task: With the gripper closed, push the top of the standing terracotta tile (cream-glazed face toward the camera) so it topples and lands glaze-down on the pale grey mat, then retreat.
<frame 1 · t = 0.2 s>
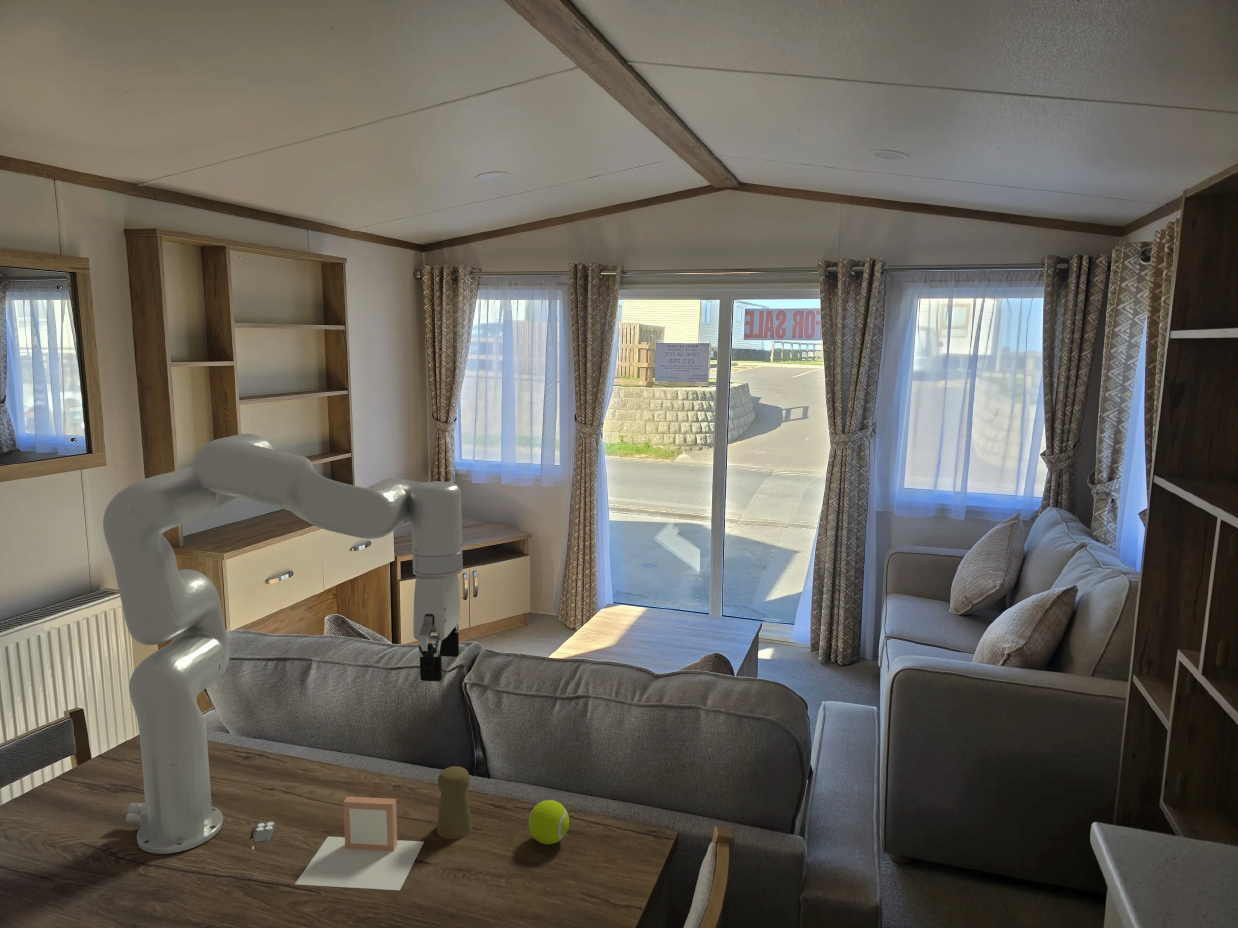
hand: (440, 667, 131), 30 cm above the table, fingers open, 9 cm apart
mat: (362, 865, 130), on the table
key chain: (259, 851, 134), on the table
tile: (371, 846, 133), point 1 cm above the table, touching mat
cork: (454, 832, 139), on the table
tennis ball: (548, 841, 137), on the table
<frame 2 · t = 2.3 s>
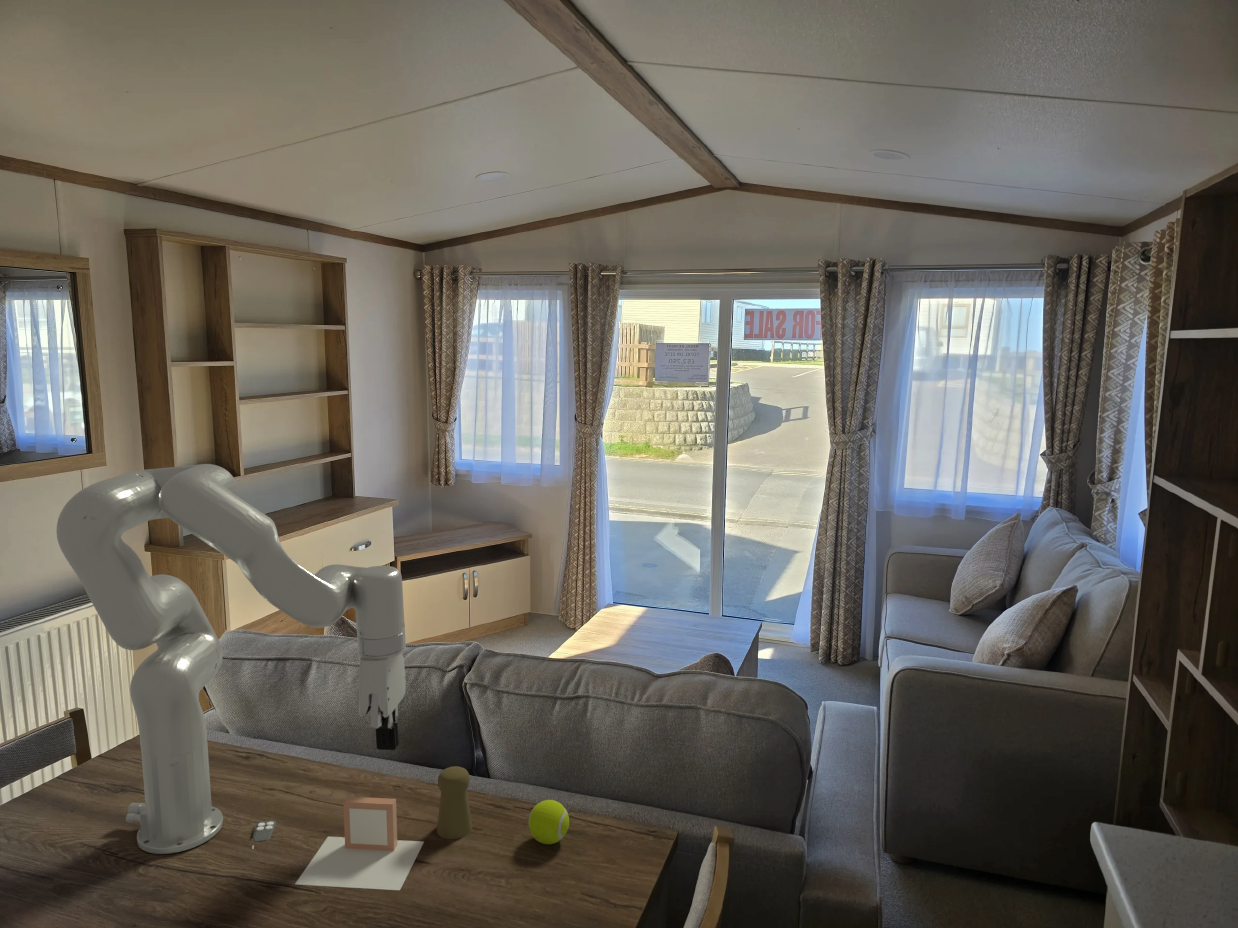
hand: (387, 747, 138), 14 cm above the table, fingers closed
nothing on the table moved.
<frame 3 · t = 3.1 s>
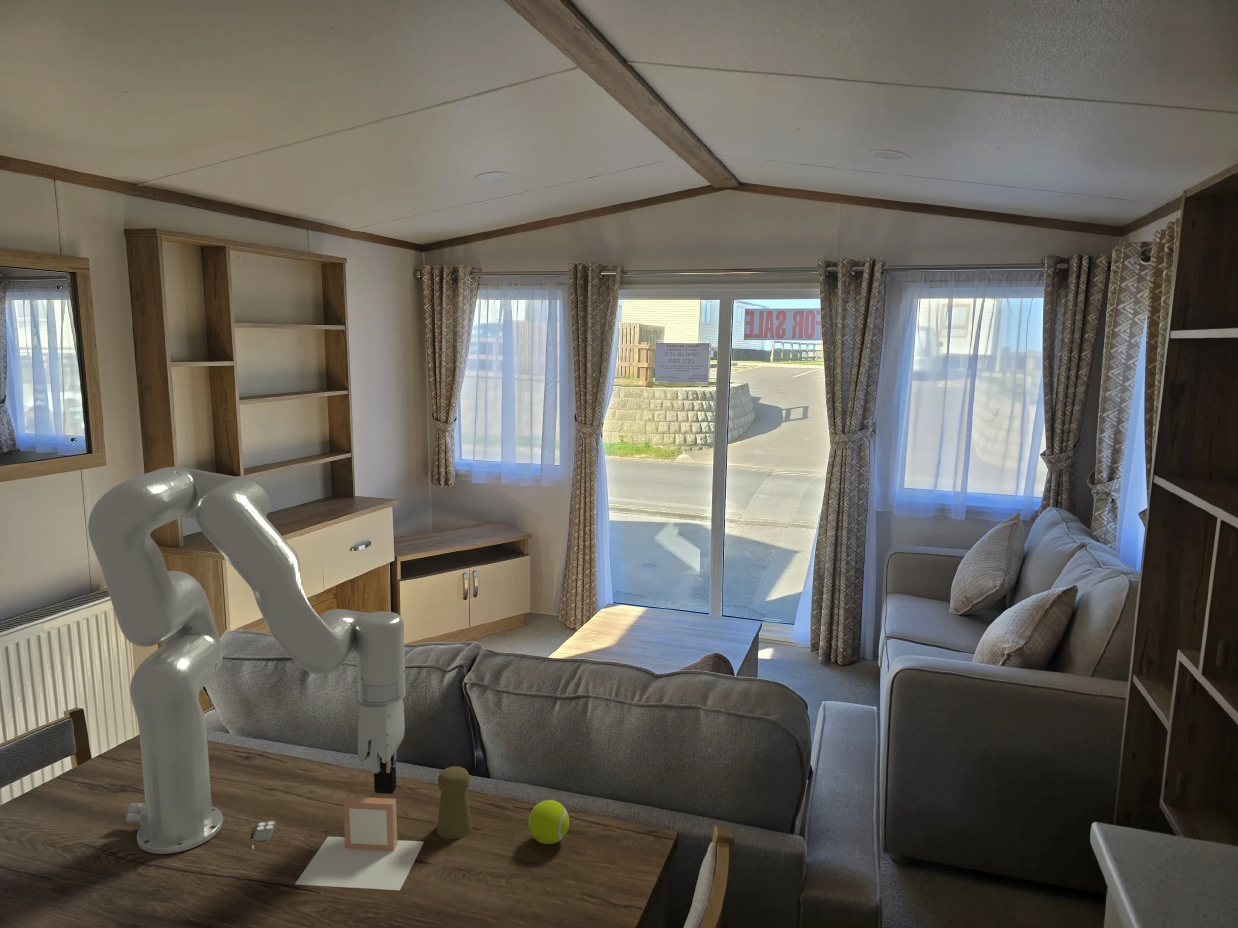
hand: (385, 790, 139), 6 cm above the table, fingers closed
nothing on the table moved.
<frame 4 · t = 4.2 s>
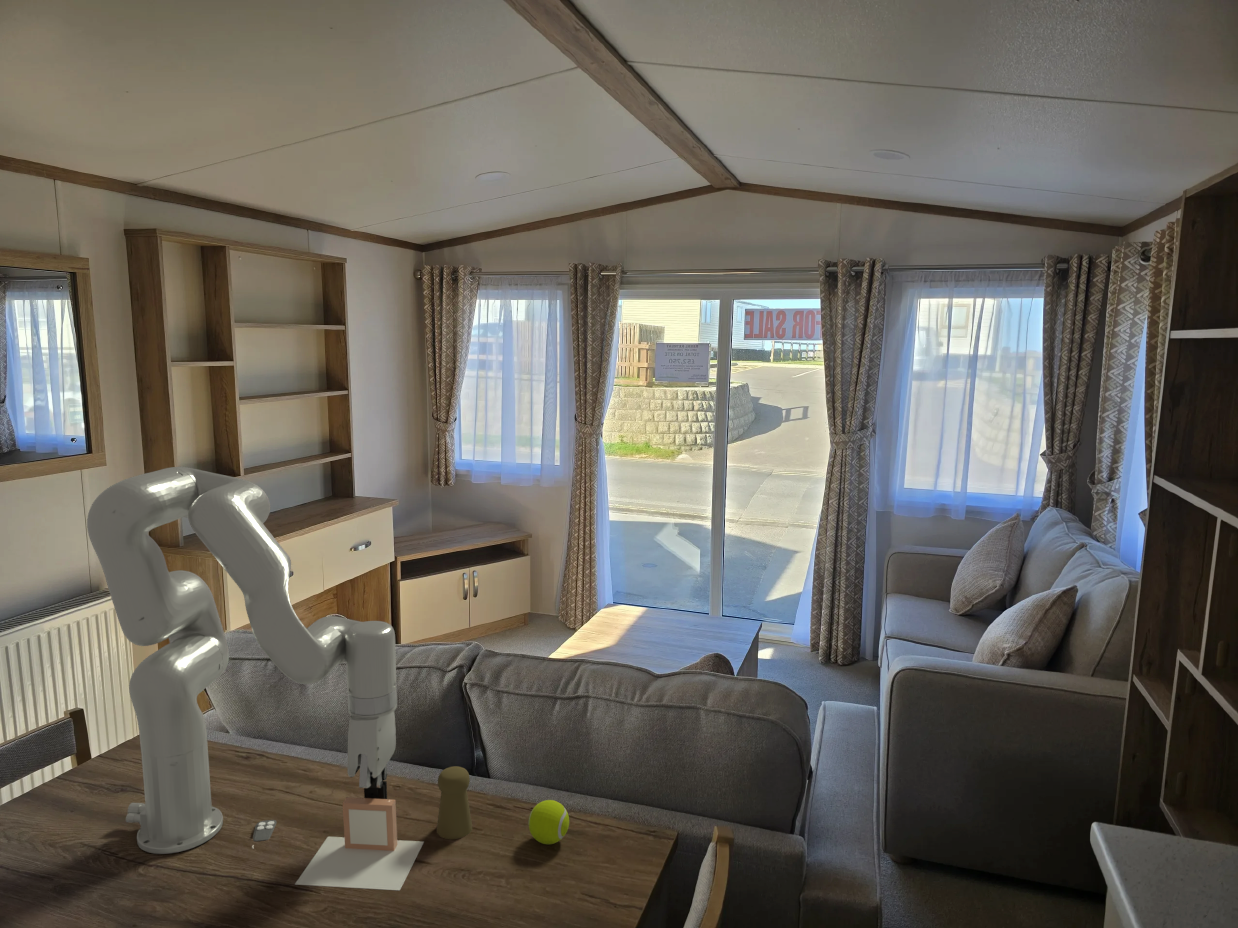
hand: (376, 805, 135), 6 cm above the table, fingers closed
tile: (371, 846, 133), point 1 cm above the table, touching gripper, mat
everything else where it was.
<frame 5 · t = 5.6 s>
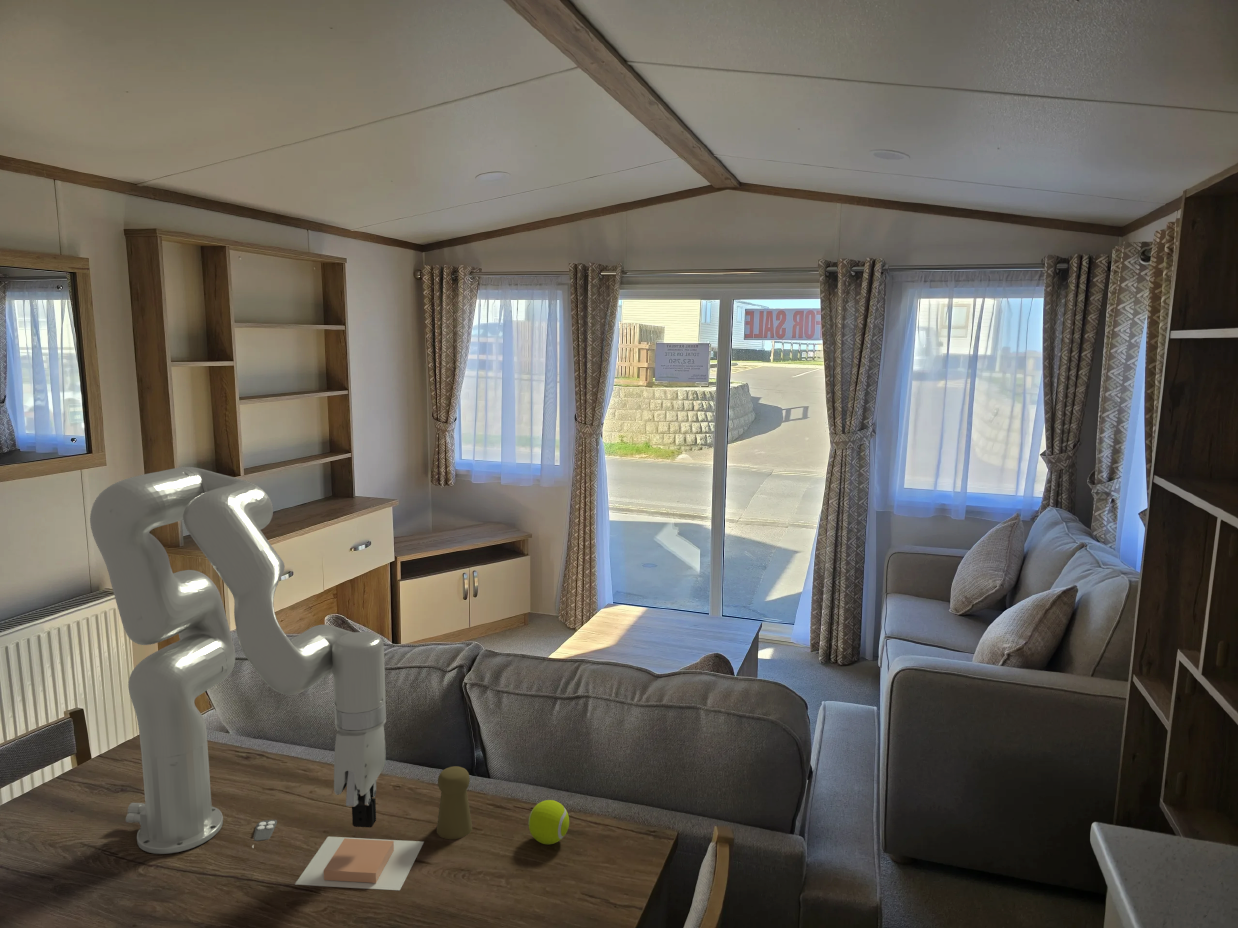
hand: (364, 823, 130), 6 cm above the table, fingers closed
tile: (369, 844, 132), point 2 cm above the table, tilted 90°, touching mat
everything else where it was.
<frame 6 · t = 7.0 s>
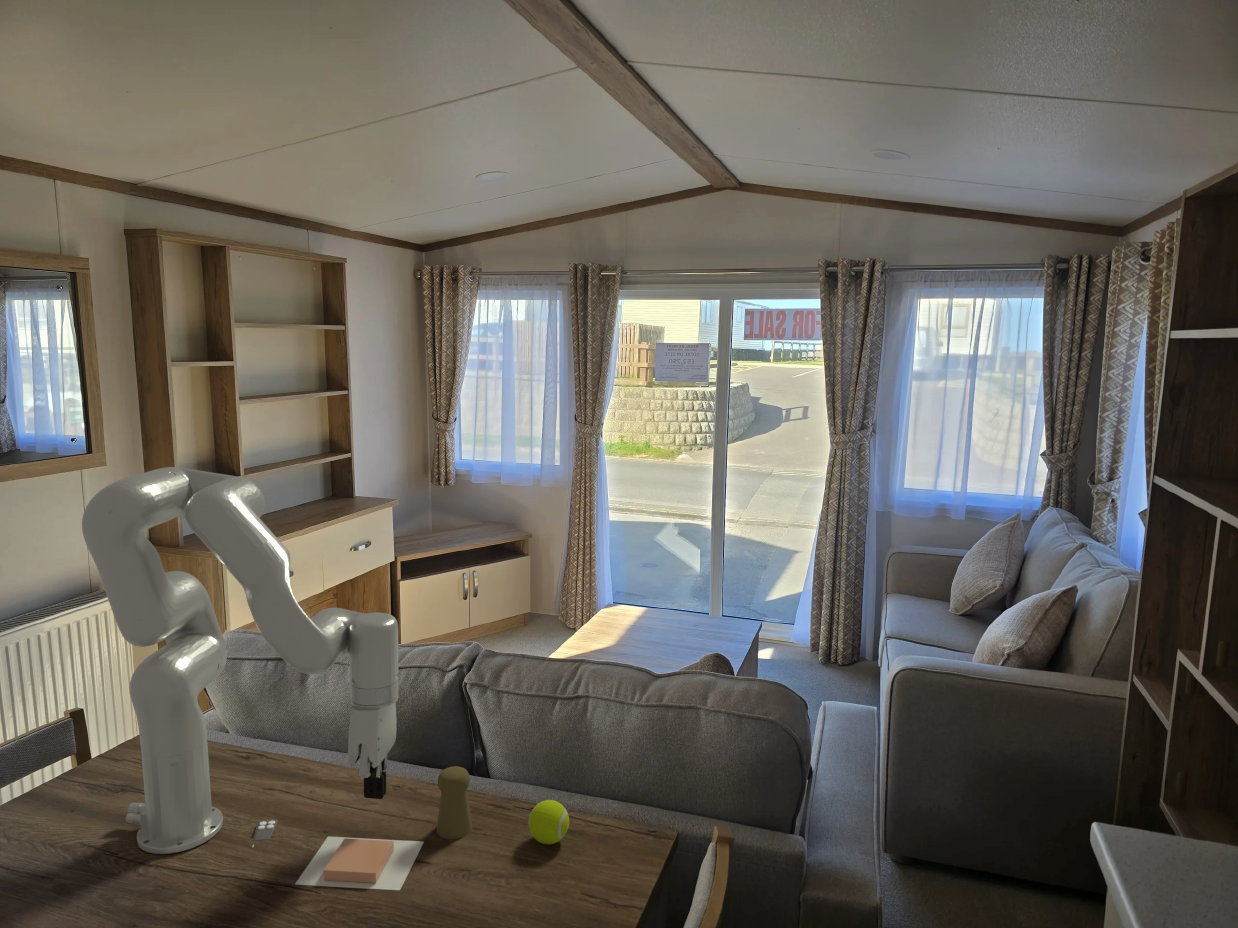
hand: (375, 795, 136), 7 cm above the table, fingers closed
nothing on the table moved.
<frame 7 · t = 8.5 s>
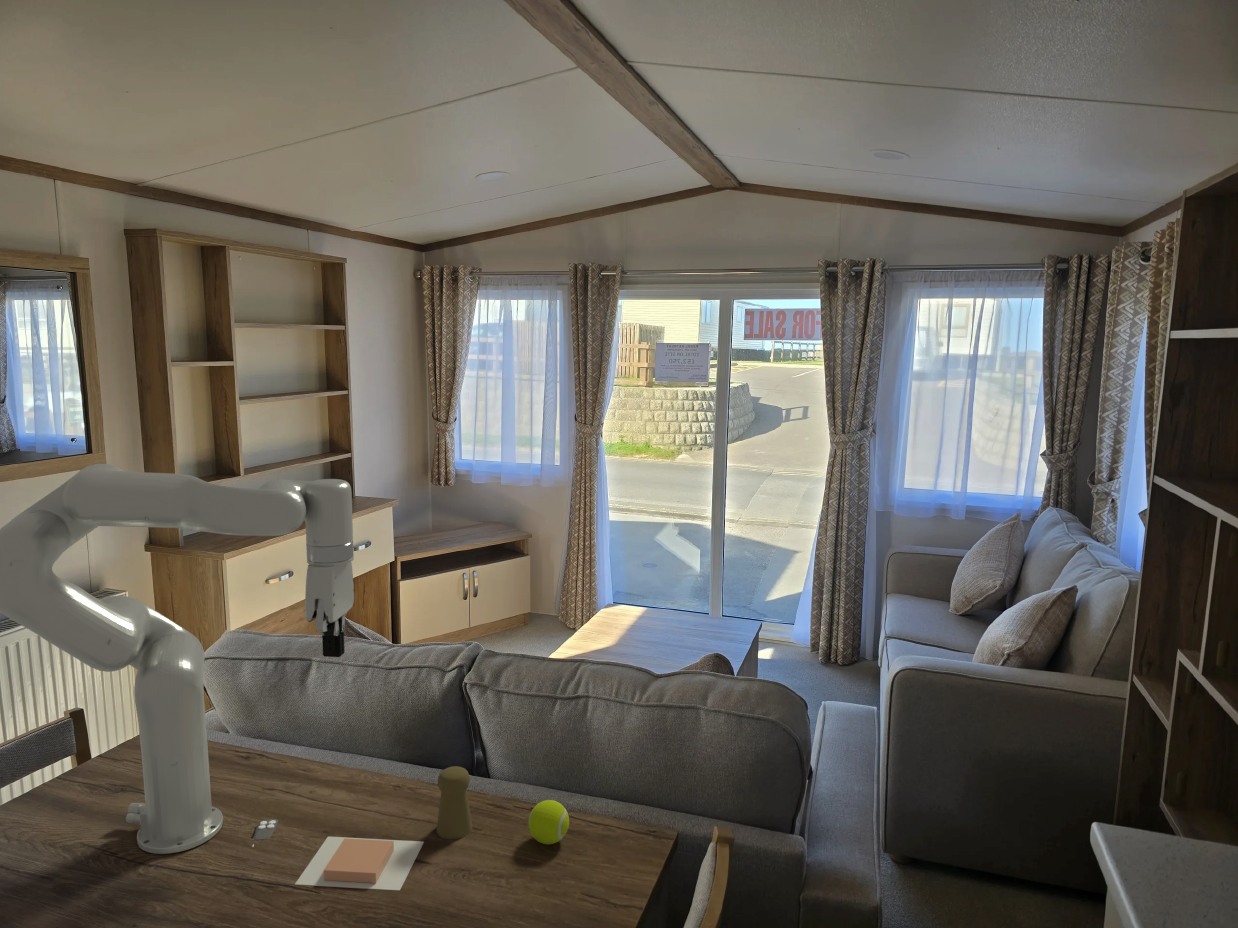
hand: (333, 654, 144), 27 cm above the table, fingers closed
nothing on the table moved.
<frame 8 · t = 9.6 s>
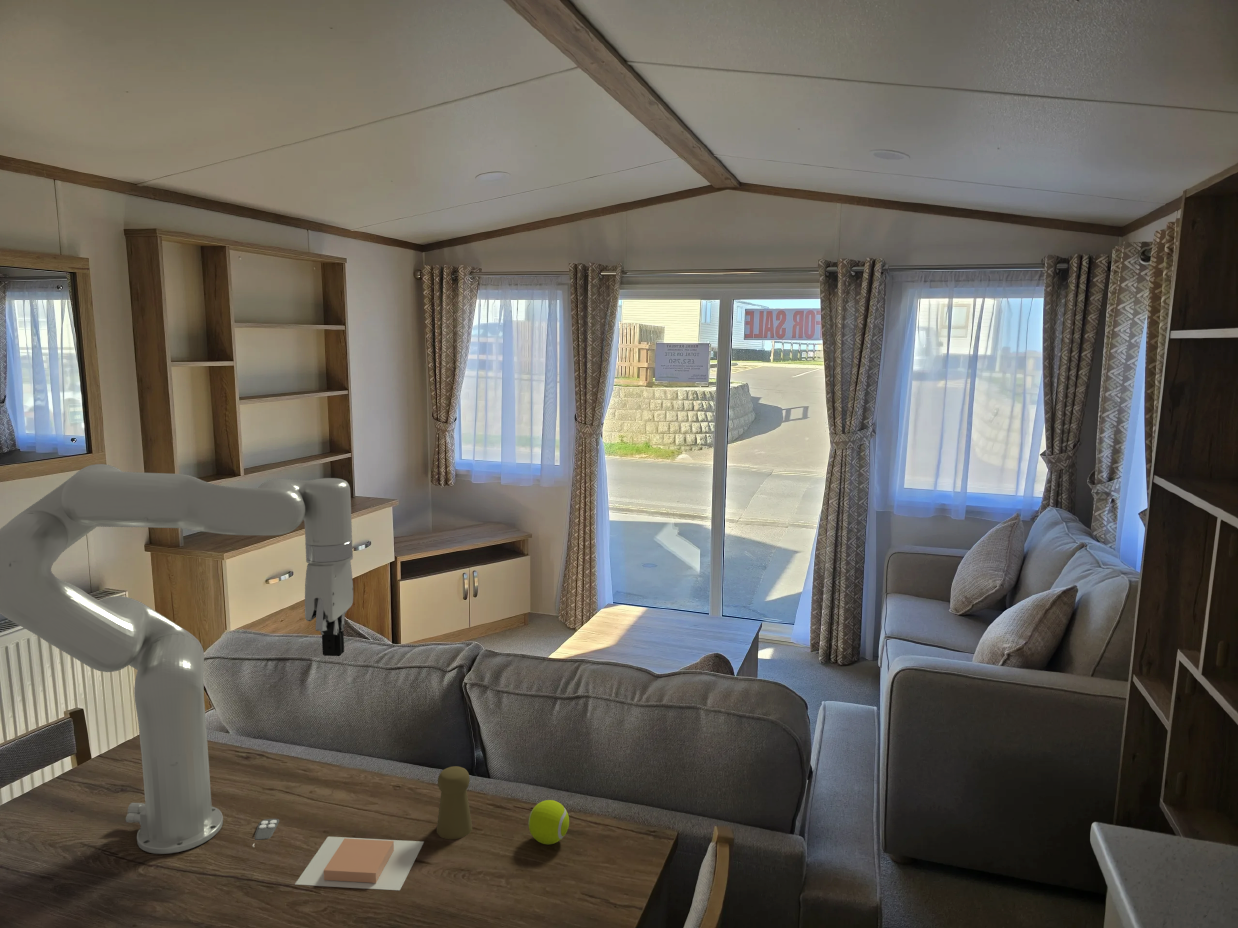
hand: (333, 653, 144), 27 cm above the table, fingers closed
nothing on the table moved.
at the end: tile tilted 90°; tile inside the target area (3.6 cm from its centre), point 1.5 cm above the table; the gripper is holding nothing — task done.
